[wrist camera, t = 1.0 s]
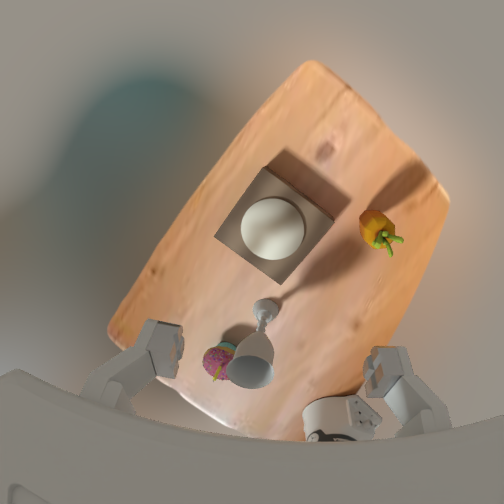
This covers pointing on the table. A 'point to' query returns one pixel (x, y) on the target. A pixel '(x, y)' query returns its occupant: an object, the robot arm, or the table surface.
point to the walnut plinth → (274, 226)
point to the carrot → (378, 230)
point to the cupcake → (218, 360)
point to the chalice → (255, 351)
